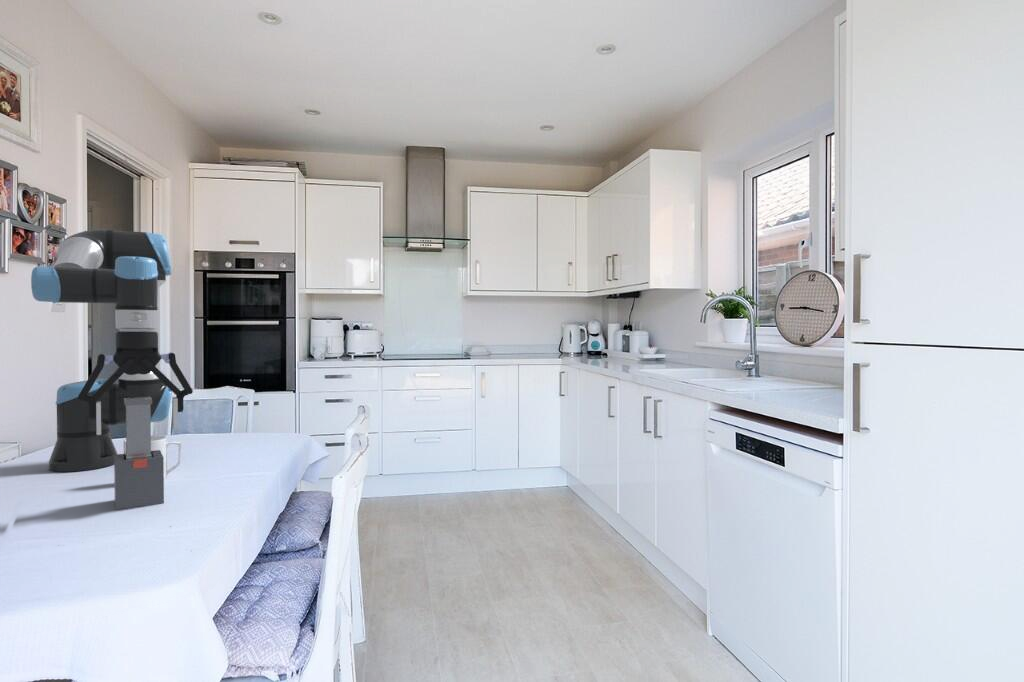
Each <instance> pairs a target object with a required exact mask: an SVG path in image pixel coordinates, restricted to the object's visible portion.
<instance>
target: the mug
mask: <svg viewBox="0 0 1024 682" xmlns="http://www.w3.org/2000/svg"><path fill="white" fill-rule="evenodd" d="M170 445H177V446H178V458H177V460H178V461H177V463H176V464H175V465H173V466H172V467H171V468H169V469H168V452H167V448H168V447H169V446H170ZM155 450H160V451H161V453H162V455H163V459H164V480H165V479H167V478H168V475H169V474H170V473H171V472H172V471H174V470H176V469H177V468H178V467H179V466H180V464H181V459H182V458H181V457H182V442H178V441H170V442H168V437H167V436H166V435H163V434H162V435H161V434H160V435H159V434H154V435H153V434H151V451H155ZM123 454H126V438H125V439H124V440H123Z"/></svg>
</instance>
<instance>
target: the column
mask: <svg viewBox="0 0 1024 682" xmlns="http://www.w3.org/2000/svg"><path fill="white" fill-rule="evenodd" d="M150 404H152V398H151V397H140V398H124V405H125V406H126V424H125V439H126V460H129V459H138V458H147V457H152V454H151V435H152V432H151V431H152V429H151V426H152V425H151V424H152V422H151V411H150Z"/></svg>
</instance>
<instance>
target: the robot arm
mask: <svg viewBox="0 0 1024 682" xmlns="http://www.w3.org/2000/svg"><path fill="white" fill-rule="evenodd" d="M56 257H57V259H56V261H55V262H54V264H53V265H47V266H46V265H45V266H42V265H38V266H35V267H34V268H33V269H32V270H31V275H30V278H31V279H30V282H31V283H30V285H31V286H30V287H31V293H32V297H33V298H34V300H35V301H36V302H37V301H38V302H42V303H43V302H46V303H53V304H59V303H73V304H74V303H76V304H77V303H79V304H81V303H82V304H85V303H86V304H115V317H114V319H115V329H118V331H116V332H115V353H114V355H113V354H104V353H99V354H98V355H97V360H96V365H95V367H94V368H93V370H92V372H91V373H90V375H89V376H88V378H87V380H82V381H75V382H69V383H67V384H63V385H61V386H59V387H58V389H57V390H56V402H55V405H56V442H55V444H54V447H53V450H52V452H51V454H50V458H49V460H48V470H49V471H52V472H58V473H59V472H60V473H61V472H63V473H64V472H66V473H67V472H69V473H70V472H79V471H80V472H81V471H90V470H91V471H92V470H95V469H101V468H106V467H110V466H112V465H113V466H114V455H117V454H118V452H117V449H116V446H115V444H114V442H113V439H112V437H111V430H110V429H111V427H110V426H116V425H118V426H120V425H126V406H125V405H124V398H140V397H151V398H152V404H150V411H151V423H157V422H162V421H165V420H166V419H167V418H168V416H169V413H170V408H171V407H170V406H172V411H171V412H172V428H173V429H178V428H179V416H178V414H179V413H183V412H184V398H185V397H186V396H188V395H192V394H193V388H192V387H191V384H189V382H188V380H187V379H186V376H185V374H184V373H183V372H182V370H181V368H180V367H179V365H178V363H177V357H176V354H175V353H174V352H168V353H162V354H161V306H160V305H161V298H160V297H161V293H160V291H161V289H160V288H161V286H162V285H163V284H165V283H166V281H167V279H166V278H167V277H168V276H171V275H172V266H171V259H170V253H169V248H168V243H167V238H166V237H165V236H164V235H163V234H159V233H153V232H152V233H151V232H147V231H145V232H144V231H131V230H130V231H128V230H116V229H115V230H114V229H105V228H104V229H103V228H100V229H99V228H97V229H90V230H89V229H88V230H84V231H81V232H77V233H74V234H72V235H69V236H68V237H66V238H65V239H63V241H61V242H60V244H59V245H58V248H57V250H56ZM166 276H167V277H166ZM161 360H163V361H164V363H166V364H168V365H169V367H170V369H171V371H172V372H173V373H174V375H175V377H176V378H177V380H178V382H179V384H180V385H181V387H182V390H180V388H178V387H177V386H176V385H175V384H174V383H173V382H172V380H170V379H169V378H168V377H167V374H166V373H165V372H163V370H161ZM112 361H113V362H114V363H115V364H116V365H117V366H118V368H116V370H115V371H114V372H113V373H112V374H111V375H110V376H109V377H108V378H98V377H99V376H100V374H101V372H102V370H103V369H104V366H107V365H109V363H110V362H112ZM117 380H118V382H117V383H115V382H116V381H117ZM172 393H173V394H174V395H175V396H173V397H172ZM171 399H172V400H171ZM171 401H172V402H171ZM171 403H172V405H171Z"/></svg>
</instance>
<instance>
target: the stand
mask: <svg viewBox="0 0 1024 682" xmlns="http://www.w3.org/2000/svg"><path fill="white" fill-rule="evenodd" d="M151 454H152V457H147V458H138V459H129V460H126V454H124V453H119V454H118V453H117V455H114V464H113V467H114V468H113V473H114V475H113V477H114V479H113V480H114V481H113V482H114V484H113V485H114V507H115V511H116V512H117V511H122V510H129V509H137V508H143V507H149V506H150V507H151V506H157V505H163V504H165V488H164V487H165V482H164V481H165V479H164V459H163V455H162V453H161V451H160V450H155V451H151Z"/></svg>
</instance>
